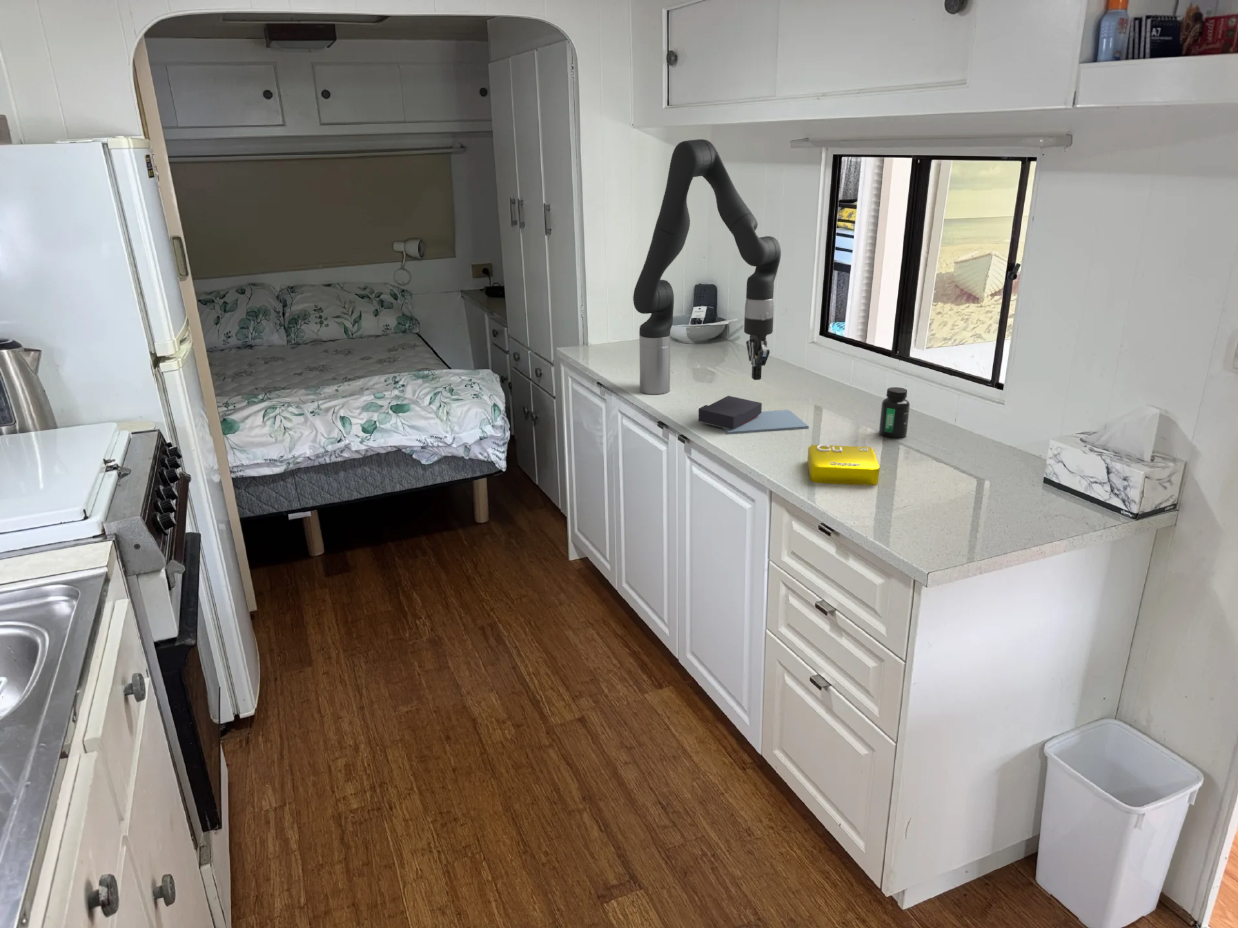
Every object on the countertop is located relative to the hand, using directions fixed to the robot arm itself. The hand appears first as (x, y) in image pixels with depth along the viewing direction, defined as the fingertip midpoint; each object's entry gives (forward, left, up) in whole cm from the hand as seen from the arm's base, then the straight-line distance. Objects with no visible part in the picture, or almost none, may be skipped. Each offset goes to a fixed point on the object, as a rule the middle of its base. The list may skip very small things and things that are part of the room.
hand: (756, 379), depth 231 cm
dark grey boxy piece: (-3, -2, -8) cm, 9 cm away
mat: (+4, 0, -11) cm, 12 cm away
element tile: (+43, +7, -12) cm, 45 cm away
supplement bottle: (+21, +30, -11) cm, 38 cm away
